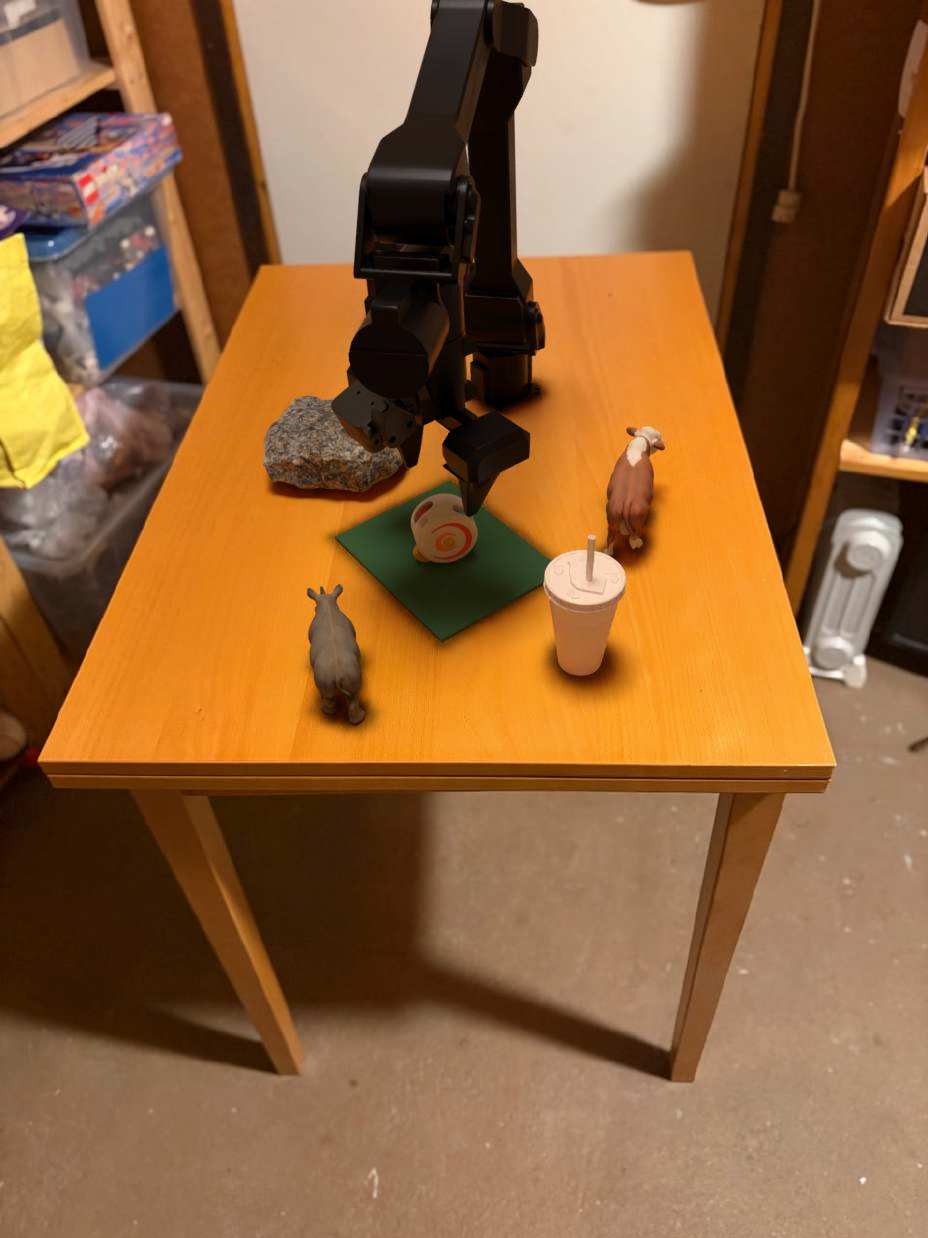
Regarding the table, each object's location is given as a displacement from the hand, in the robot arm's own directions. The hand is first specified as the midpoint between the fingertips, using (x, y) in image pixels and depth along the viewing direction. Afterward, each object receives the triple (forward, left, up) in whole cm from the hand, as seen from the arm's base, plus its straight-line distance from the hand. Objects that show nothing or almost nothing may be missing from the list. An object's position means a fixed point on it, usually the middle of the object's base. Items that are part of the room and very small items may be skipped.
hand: (440, 489), depth 83 cm
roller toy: (0, 0, -8) cm, 8 cm away
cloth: (0, 0, -8) cm, 8 cm away
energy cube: (-26, -41, -8) cm, 49 cm away
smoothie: (-1, +18, -8) cm, 20 cm away
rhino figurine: (+15, +5, -8) cm, 18 cm away
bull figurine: (-17, +8, -8) cm, 20 cm away
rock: (0, -19, -8) cm, 21 cm away
